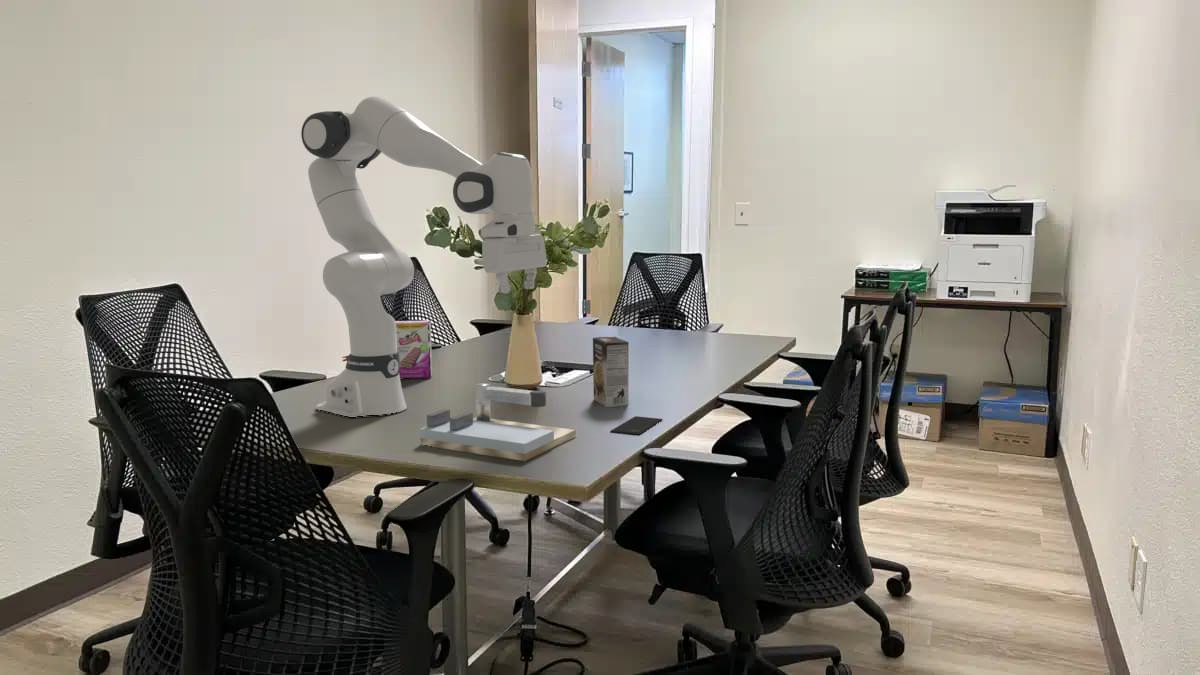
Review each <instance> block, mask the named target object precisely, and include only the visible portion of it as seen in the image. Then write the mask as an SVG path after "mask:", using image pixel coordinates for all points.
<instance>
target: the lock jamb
mask: <svg viewBox="0 0 1200 675" xmlns="http://www.w3.org/2000/svg"><path fill="white" fill-rule="evenodd" d="M473 416H474V415H473V412H469V411H465V412H463V413H461V414H457V415H454V416H452V417H451V410H450V409H447V408H446V409H445V408H443V409H441V410H438V411H435V412H432V413H429V414H427V415H426V426H424V427H422V428H420V429H419V432H420V433H419V434H420V436H419V438H420V445H421V444H422V445H421V446H424V445H428V446H427V447H430V446H432V447H431V448H437V449H438V448H439V449H443V450H444V449H445V450H451V451H457V452H464V453H469V454H475V455H476V454H477V455H483V456H490V457H495V458H502V459H510V460H516V461H522V462H526V461H529V460H531V459H532V458H534V457H537V456H539V455H541V454H543V453H545V452H547V451H549V450H551V449H554V448H555V447H557V446H559V445H562V444H563V443H566V442H568V441H570V440H572V439H573V438H575V437H576V434H577V433H576V429H572V428H571V429H570V428H564V427H555V426H547V425H539V424H534V423H533V424H532V423H527V422H526V423H525V422H518V421H509V420H501V419H495V418H491V421H489V422H485V421H477V420H476V417H473Z"/></svg>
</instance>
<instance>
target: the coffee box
mask: <svg viewBox="0 0 1200 675" xmlns="http://www.w3.org/2000/svg"><path fill="white" fill-rule="evenodd" d="M629 346H630V345H629V341H626V340H624V339H621V338H619V337H617V336H599V337H592V361H593V362H592V363H593V364H592V367H593V368H592V370H593V371H592V372H593V375H592V376H593V378H592V379H593V400H594V401H595V402H596V403H599V404H600V405H602V406H603V407H605V408H611V407H623V406H629V365H630V364H629V353H630V352H629Z"/></svg>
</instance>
